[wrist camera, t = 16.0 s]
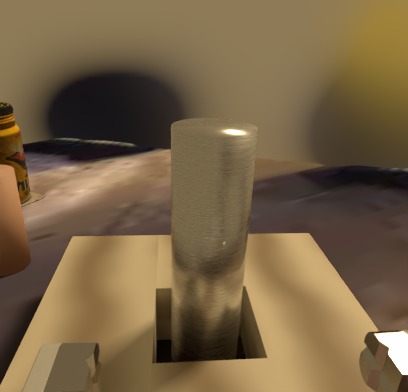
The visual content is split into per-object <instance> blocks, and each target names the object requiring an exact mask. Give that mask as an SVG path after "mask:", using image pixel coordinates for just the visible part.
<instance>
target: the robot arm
mask: <svg viewBox="0 0 408 392" xmlns="http://www.w3.org/2000/svg"><path fill="white" fill-rule="evenodd" d="M364 343H365V344H366V346H367V347H366V348H365V349H364V350H363V351H362V352H361V353H360V358H359V367H360V372H361V375H362V378H363V379H364V381H365V383H366V385H367V386H369V387H370V388H371V389H373V390H374V391H375V392H408V330H400V331H398V330H396V331H376V332H368V333H367V334H366V336H365V339H364ZM99 354H100V350H99V344H98V343H47V344H43V346H42V347H41V348H40V350H39V352H38V355H37V357H36V359H35V362H34V364H33V366H32V369H31V371H30V373H29V376H28V378H27V380H26V383H25V385H24V388H23V390H22V392H100V390H101V379H102V369H101V363H100V362H99V361H98V358H99Z"/></svg>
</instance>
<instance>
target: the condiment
mask: <svg viewBox="0 0 408 392" xmlns="http://www.w3.org/2000/svg"><path fill="white" fill-rule="evenodd" d="M0 165H8V166H11V167H13V168H14V171H15V176H16V182H17V187H18V192H19V198H20V203H21V207H22V206H24V205H27V204H29V203H32V202H35V201H36V200H40V199H42V198H44V197H45V196H44V195H41V194H38V193H34V192H31V191H30V186H29V180H28V174H27V167H26V163H25V157H24V151H23V145H22V138H21V133H20V129H19V127H18V126H17V125H16V124H15V118H14V115H13V108H12V106H11V105H10V104H8V103H2V102H0Z"/></svg>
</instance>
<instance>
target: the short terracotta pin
mask: <svg viewBox="0 0 408 392" xmlns="http://www.w3.org/2000/svg"><path fill="white" fill-rule="evenodd" d="M30 261H31V257H30V251H29V246H28V241H27V235H26V230H25V225H24V219H23V214H22V208H21V203H20V198H19V192H18V187H17V182H16V176H15V171H14V168H13V167H11V166H8V165H0V277H1V276H7V275H11V274H14V273H17V272H19V271H21V270H23V269H24V268H26V267H27V266H28V265H29V263H30Z"/></svg>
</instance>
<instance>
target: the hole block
mask: <svg viewBox="0 0 408 392" xmlns="http://www.w3.org/2000/svg"><path fill="white" fill-rule="evenodd" d="M376 331H378V329H377V328H376V326H375V325H374V324H373V322H372V321H371V319H370V318H369V317H368V315H367V314H366V312H365V311H364V310H363V308H362V307H361V305H360V304H359V303H358V301H357V300H356V298H355V297H354V296H353V294H352V293H351V291H350V290H349V289H348V287H347V286H346V284H345V283H344V282H343V280H342V279H341V277H340V276H339V275H338V273H337V272H336V270H335V269H334V268H333V266H332V265H331V263H330V262H329V261H328V259H327V258H326V256H325V255H324V254H323V252H322V251H321V249H320V248H319V247H318V245H317V244H316V242H315V241H314V240H313V238H312V237H311V235H310V234H309V233H290V234H248V240H247V250H246V260H245V271H244V281H243V292H242V302H241V313H240V323H239V334H238V337H241V341H242V345H243V349H244V354H245V358H246V359H238V360H217V361H196V362H174V363H156V356H157V340H168V339H172V331H171V235H144V236H73V237H72V239H71V241H70V243H69V245H68V247H67V249H66V251H65V253H64V256H63V258H62V260H61V262H60V264H59V266H58V268H57V270H56V272H55V274H54V276H53V278H52V280H51V282H50V284H49V286H48V288H47V290H46V293H45V295H44V297H43V299H42V301H41V303H40V305H39V307H38V309H37V311H36V313H35V315H34V317H33V319H32V321H31V323H30V325H29V327H28V330H27V332H26V334H25V336H24V338H23V340H22V342H21V344H20V346H19V348H18V350H17V352H16V354H15V356H14V358H13V360H12V362H11V364H10V366H9V369H8V371H7V373H6V375H5V377H4V379H3V381H2V383H1V385H0V392H22V390H23V388H24V385H25V383H26V380H27V378H28V376H29V373H30V371H31V369H32V366H33V364H34V362H35V359H36V357H37V355H38V352H39V350H40V348H41V347H42V346H43V344H47V343H98V344H99V350H100V354H99V358H98V361H99V362H100V363H101V369H102V379H101V390H100V392H375V391H374V390H373V389H371V388H370V387H369V386H367V385H366V383H365V381H364V379H363V378H362V375H361V372H360V367H359V358H360V353H361V352H362V351H363V350H364V349H365V348H366V347H367V346H366V344H365V343H364V339H365V336H366V334H367V333H368V332H376Z"/></svg>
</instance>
